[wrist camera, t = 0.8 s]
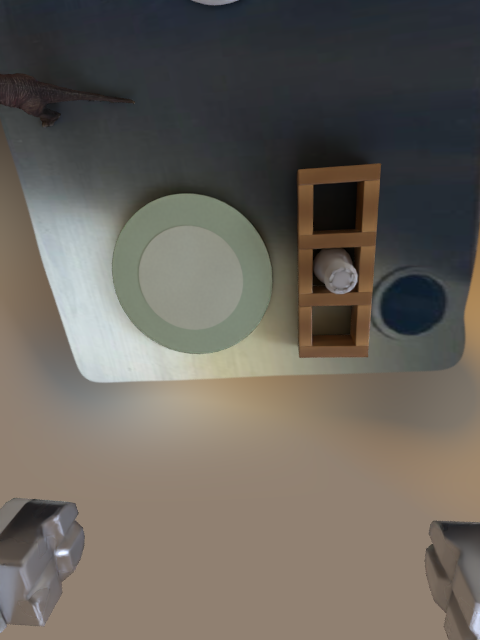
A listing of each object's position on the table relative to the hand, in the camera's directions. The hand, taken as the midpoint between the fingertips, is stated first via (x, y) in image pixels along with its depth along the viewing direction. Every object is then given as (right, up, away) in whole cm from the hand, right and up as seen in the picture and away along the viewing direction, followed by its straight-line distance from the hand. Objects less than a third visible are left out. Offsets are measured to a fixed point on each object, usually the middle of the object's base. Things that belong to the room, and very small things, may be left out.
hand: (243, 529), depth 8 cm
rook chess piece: (+11, +11, +34) cm, 37 cm away
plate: (-6, +10, +36) cm, 38 cm away
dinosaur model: (-18, +29, +31) cm, 46 cm away
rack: (+11, +11, +34) cm, 37 cm away
